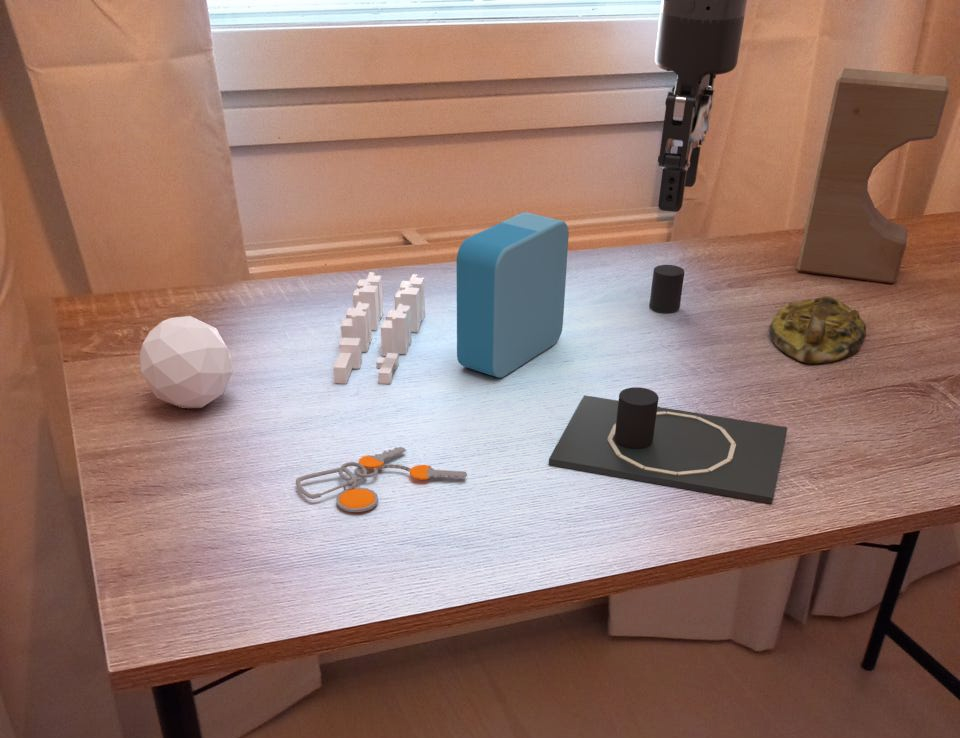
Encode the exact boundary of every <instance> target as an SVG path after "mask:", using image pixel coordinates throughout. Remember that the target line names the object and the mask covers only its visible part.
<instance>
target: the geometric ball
mask: <svg viewBox="0 0 960 738" xmlns="http://www.w3.org/2000/svg"><path fill="white" fill-rule="evenodd" d="M138 357H139V367H140V368H139V370H140V374H141V376H142V377H143V379H144V380H145V382H146V383H147V385H148V387H149V389H150V390H151V392H152V393H153V395H154V397H155V398H156V399H158V400H161V401H163V402H165V403H168V404H170V405H173V406H175V407H177V406H178V408H180V407H181V408H180V409H182V407H183V408H187V409H201V408H204V407H206V405H208V404H210V403H212V401H214V400H216V399H218V398H219V397H221V396H222V395H224V392H225V390H226V388H227V386H228V383H229V381H230V379H231V377H232V374H233V372H234V370H233V363H232V355H231V352H230V350H229V348H228V347H227V344H226V343H225V341H224V339H223V338H222V336H221V334H220V332H219V331H218V329H217V328H216V327H215V326H212V325H211V324H208V323H207V322H204V321H202V320H200V319H197V318H196V317H194V316H192V315H186V316H176V317H169V318H167V319H164V320H162V321H160V322H159V323H158V324H157V325H156V326H154V327H153V328H152V329H151V330H150V331H149V332H148V334H147V335H146V337H145V338H144V340H143V342H142V344H141V348H140V352H139V355H138Z"/></svg>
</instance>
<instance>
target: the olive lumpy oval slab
mask: <svg viewBox="0 0 960 738" xmlns="http://www.w3.org/2000/svg"><path fill="white" fill-rule="evenodd" d="M860 315H861V314H860V312H859V310H858V309H851V308H850V307H849V306H847V304H846V303H844V302H843V301H841V300H839V299H837V298H834V297H832V296H829V295H823V296H819V297H816V298H813V299H809V300H802V301H801V300H800V301H796V302H788V303H787V305H785V306H783V307H781V308H778V310H777V312H776V313H775V314H774V315H773V318H772V320H771V322H770V325H769V332H770V336H771V339H772V341H773V343H774V345H775V346H776V347H777V348H778V349H779V350H780V351H781V352H783V353H784V354H785V355H787V356H789V357H791V358H793V359H795V360H796V361H798V362H801V363H805V364H811V365H816V364H818V365H819V364H824V363H825V364H826V363H834V362H839V361H841V360H845V359H847V358H850V357H851V356H853V355H854V354H856V352H858V350H859V349H860V346H861V344H862V343H863V341H864V340H865V339H866V336H867V325H866V323H865V321H864V320H863V318H862V317H861V316H860Z"/></svg>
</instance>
